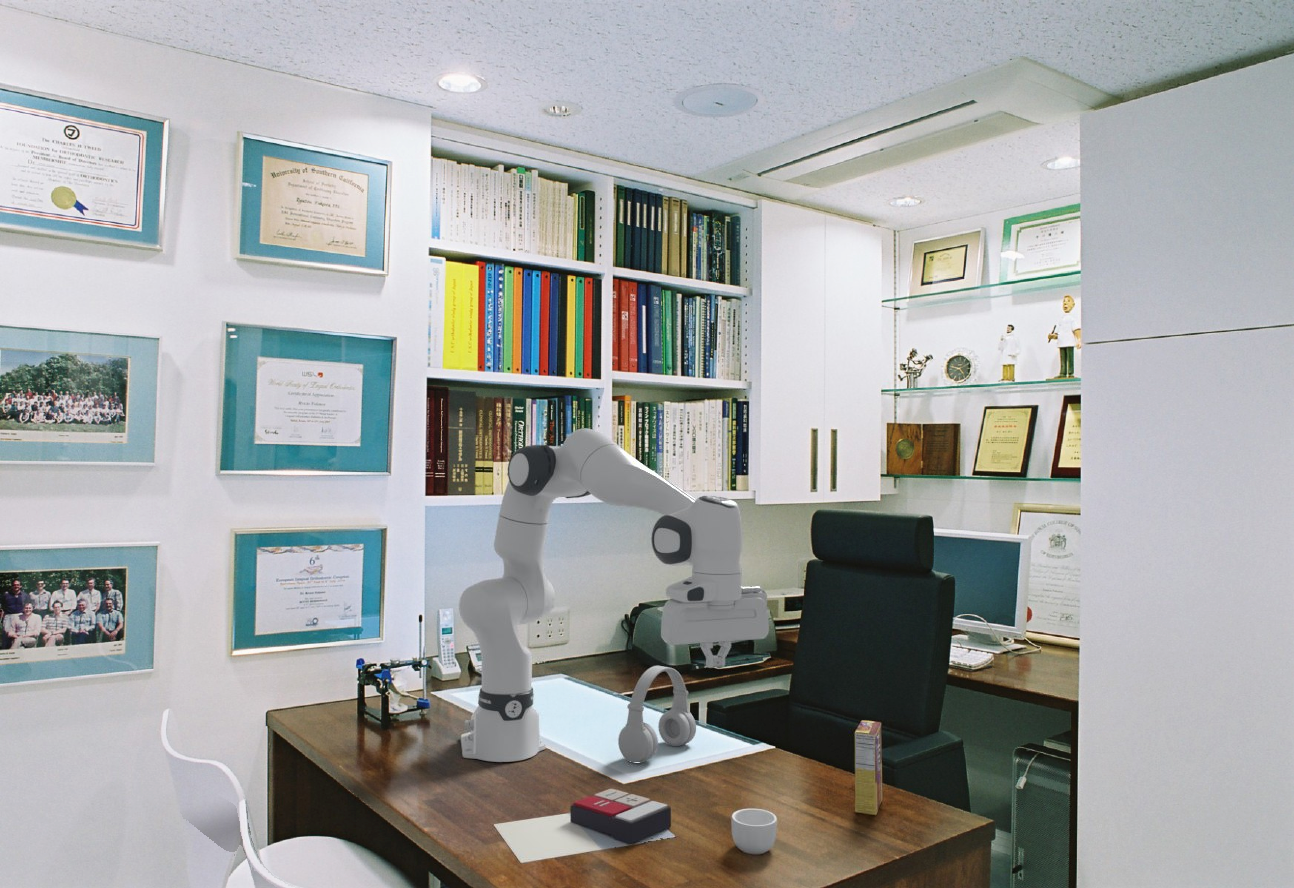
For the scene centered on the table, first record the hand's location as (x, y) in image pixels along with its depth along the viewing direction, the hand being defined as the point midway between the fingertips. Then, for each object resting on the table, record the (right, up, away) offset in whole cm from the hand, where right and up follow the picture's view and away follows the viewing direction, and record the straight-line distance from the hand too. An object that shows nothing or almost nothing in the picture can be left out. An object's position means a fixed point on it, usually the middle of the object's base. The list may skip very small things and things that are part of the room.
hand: (715, 666), depth 162 cm
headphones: (-10, -31, +45) cm, 55 cm away
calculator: (-17, -29, +3) cm, 34 cm away
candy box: (+31, -31, +14) cm, 46 cm away
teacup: (+7, -30, -5) cm, 31 cm away
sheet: (-23, -29, 0) cm, 37 cm away
